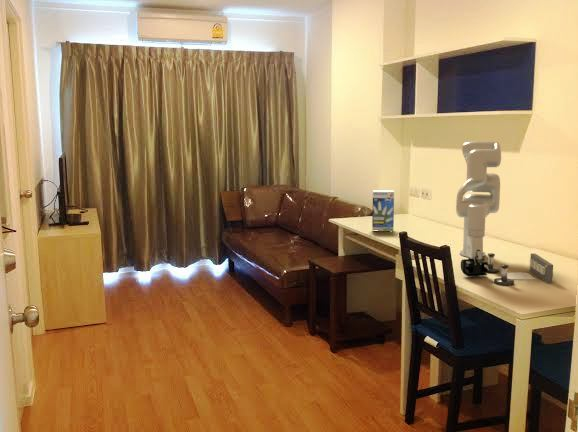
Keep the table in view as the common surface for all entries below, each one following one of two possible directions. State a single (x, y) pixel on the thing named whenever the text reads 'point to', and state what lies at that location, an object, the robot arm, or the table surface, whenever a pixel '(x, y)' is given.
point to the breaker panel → (541, 268)
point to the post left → (491, 264)
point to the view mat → (519, 276)
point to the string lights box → (383, 210)
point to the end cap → (468, 267)
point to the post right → (504, 277)
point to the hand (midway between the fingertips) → (474, 270)
